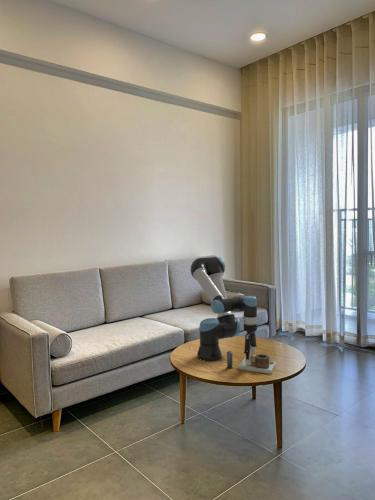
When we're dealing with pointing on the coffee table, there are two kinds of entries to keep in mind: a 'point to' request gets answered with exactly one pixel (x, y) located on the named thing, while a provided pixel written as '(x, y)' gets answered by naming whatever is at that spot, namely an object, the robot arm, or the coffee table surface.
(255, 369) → the tray
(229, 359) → the cylinder
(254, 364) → the brown octagonal handled piece
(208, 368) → the coffee table surface
